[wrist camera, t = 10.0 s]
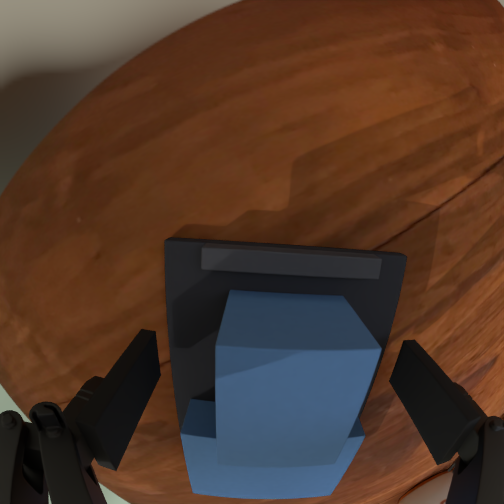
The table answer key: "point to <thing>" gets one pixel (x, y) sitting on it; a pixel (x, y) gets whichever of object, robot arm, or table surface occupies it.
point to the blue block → (289, 378)
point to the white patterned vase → (429, 490)
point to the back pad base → (208, 325)
